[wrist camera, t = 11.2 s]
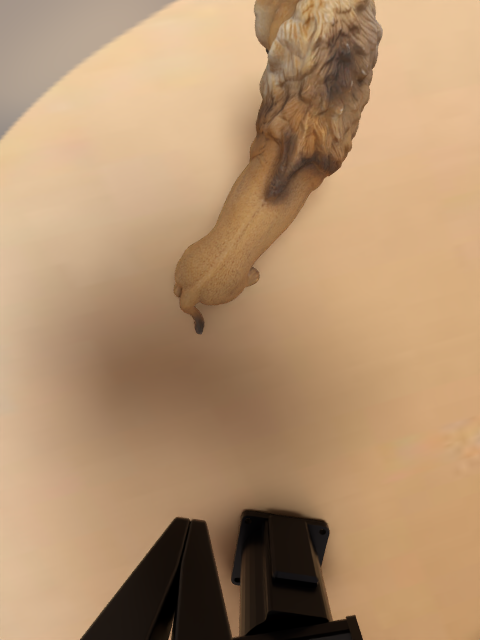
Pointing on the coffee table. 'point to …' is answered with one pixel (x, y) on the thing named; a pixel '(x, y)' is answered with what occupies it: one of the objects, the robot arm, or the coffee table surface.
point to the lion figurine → (286, 137)
